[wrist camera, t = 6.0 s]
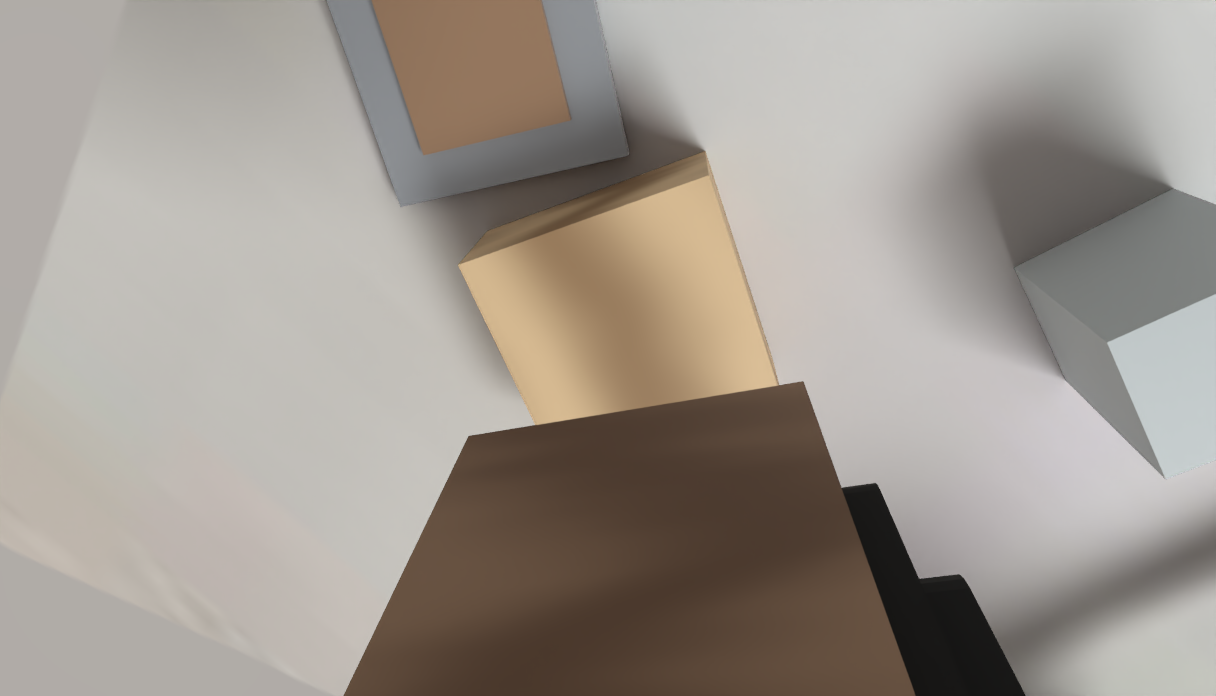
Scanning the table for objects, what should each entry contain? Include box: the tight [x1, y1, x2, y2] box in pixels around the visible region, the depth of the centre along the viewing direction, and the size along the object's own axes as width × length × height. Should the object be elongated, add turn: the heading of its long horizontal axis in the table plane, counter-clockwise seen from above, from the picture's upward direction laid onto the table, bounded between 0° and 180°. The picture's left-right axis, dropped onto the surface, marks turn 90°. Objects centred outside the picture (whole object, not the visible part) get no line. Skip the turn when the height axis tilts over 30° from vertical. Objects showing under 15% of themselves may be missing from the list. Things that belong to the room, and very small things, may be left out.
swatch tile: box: [327, 0, 629, 207], centre depth 23 cm, size 8×8×1 cm
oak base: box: [458, 151, 779, 425], centre depth 24 cm, size 8×8×4 cm
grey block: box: [1014, 189, 1216, 479], centre depth 22 cm, size 5×5×6 cm
